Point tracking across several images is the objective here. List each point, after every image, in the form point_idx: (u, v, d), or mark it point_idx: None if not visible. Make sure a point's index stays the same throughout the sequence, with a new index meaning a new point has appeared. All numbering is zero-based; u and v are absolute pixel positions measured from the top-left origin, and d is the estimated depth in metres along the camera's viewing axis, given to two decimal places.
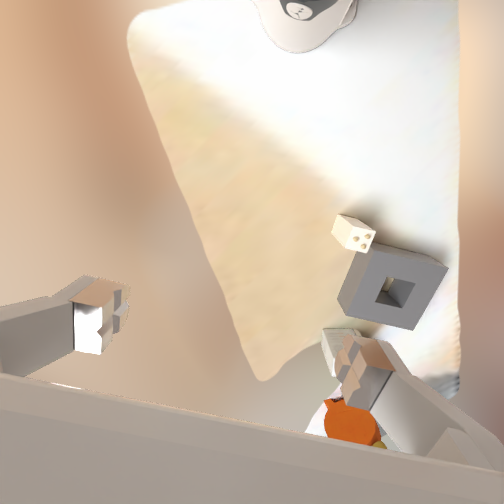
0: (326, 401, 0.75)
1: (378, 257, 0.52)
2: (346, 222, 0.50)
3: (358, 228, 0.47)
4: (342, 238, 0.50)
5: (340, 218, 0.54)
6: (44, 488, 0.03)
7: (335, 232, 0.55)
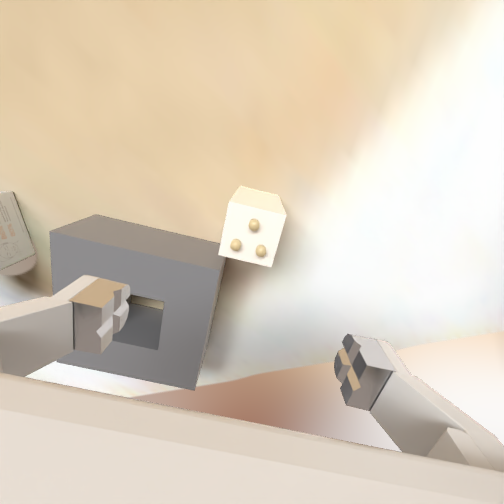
0: None
1: (205, 280, 0.25)
2: (279, 205, 0.23)
3: (280, 228, 0.20)
4: (244, 198, 0.21)
5: (276, 197, 0.26)
6: (44, 488, 0.03)
7: (247, 191, 0.26)
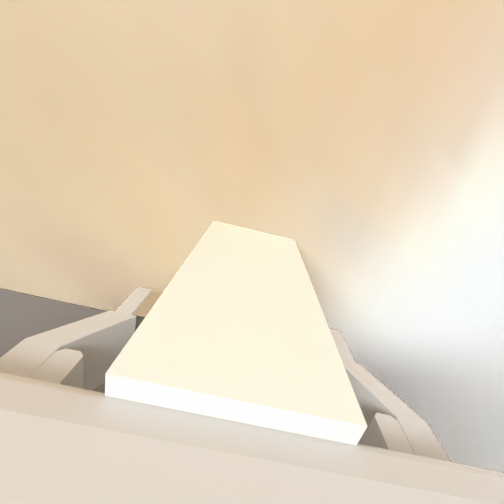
0: None
1: None
2: (311, 303, 0.08)
3: None
4: (202, 300, 0.07)
5: (292, 254, 0.11)
6: (44, 488, 0.03)
7: (224, 241, 0.11)
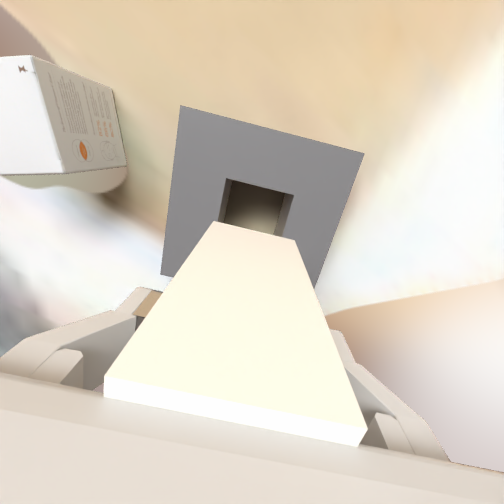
0: None
1: (345, 166, 0.22)
2: (311, 304, 0.08)
3: None
4: (201, 302, 0.06)
5: (292, 255, 0.11)
6: (44, 488, 0.03)
7: (224, 241, 0.11)
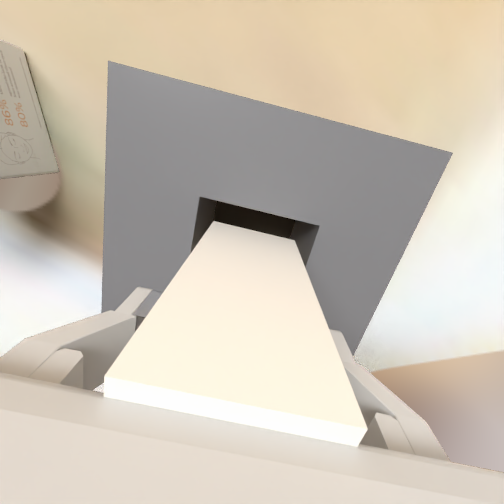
0: None
1: (415, 176, 0.12)
2: (311, 304, 0.08)
3: None
4: (201, 301, 0.07)
5: (292, 255, 0.11)
6: (44, 488, 0.03)
7: (224, 241, 0.11)
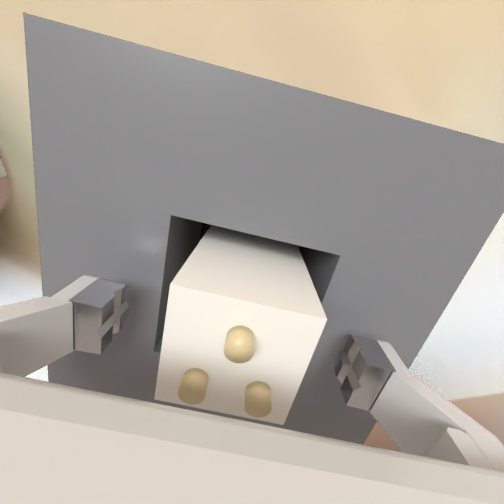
0: None
1: (481, 187, 0.09)
2: (299, 263, 0.10)
3: (308, 347, 0.07)
4: (220, 256, 0.09)
5: None
6: (44, 488, 0.03)
7: None
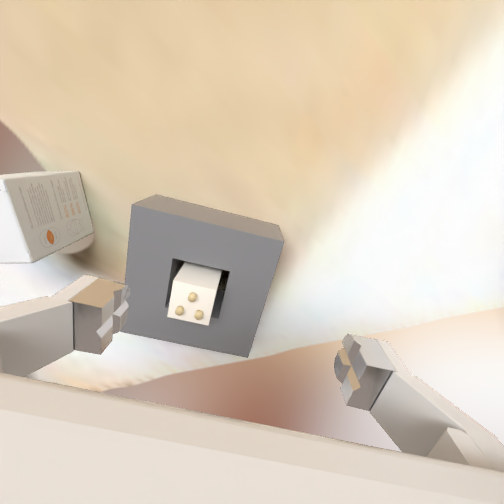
0: None
1: (270, 250, 0.27)
2: (218, 273, 0.29)
3: (212, 298, 0.26)
4: (189, 271, 0.28)
5: None
6: (44, 488, 0.03)
7: None
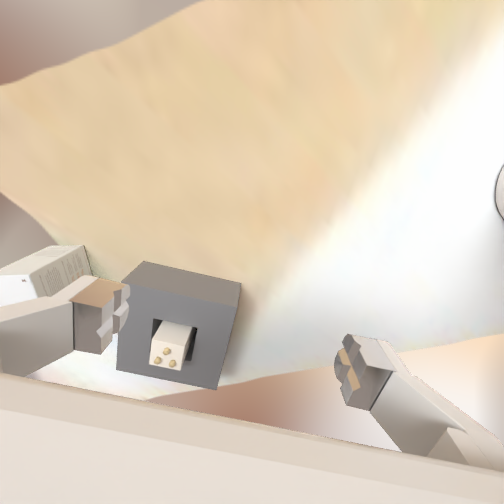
0: None
1: (227, 313, 0.36)
2: (189, 328, 0.38)
3: (182, 352, 0.35)
4: (166, 328, 0.36)
5: None
6: (44, 488, 0.03)
7: None
